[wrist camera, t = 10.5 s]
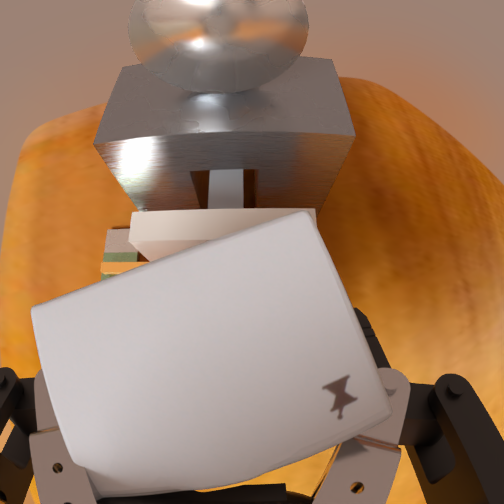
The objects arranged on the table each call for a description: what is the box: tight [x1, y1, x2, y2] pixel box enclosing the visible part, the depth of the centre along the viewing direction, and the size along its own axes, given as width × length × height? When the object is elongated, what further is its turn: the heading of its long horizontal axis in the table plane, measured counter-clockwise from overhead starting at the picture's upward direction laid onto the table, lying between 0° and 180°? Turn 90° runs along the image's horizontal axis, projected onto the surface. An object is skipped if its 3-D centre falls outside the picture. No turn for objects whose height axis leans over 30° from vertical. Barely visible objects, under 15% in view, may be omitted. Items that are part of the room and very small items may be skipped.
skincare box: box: [31, 210, 393, 497], centre depth 10 cm, size 6×4×12 cm
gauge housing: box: [93, 0, 356, 281], centre depth 11 cm, size 13×15×15 cm
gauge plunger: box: [100, 169, 317, 274], centre depth 15 cm, size 11×11×6 cm
